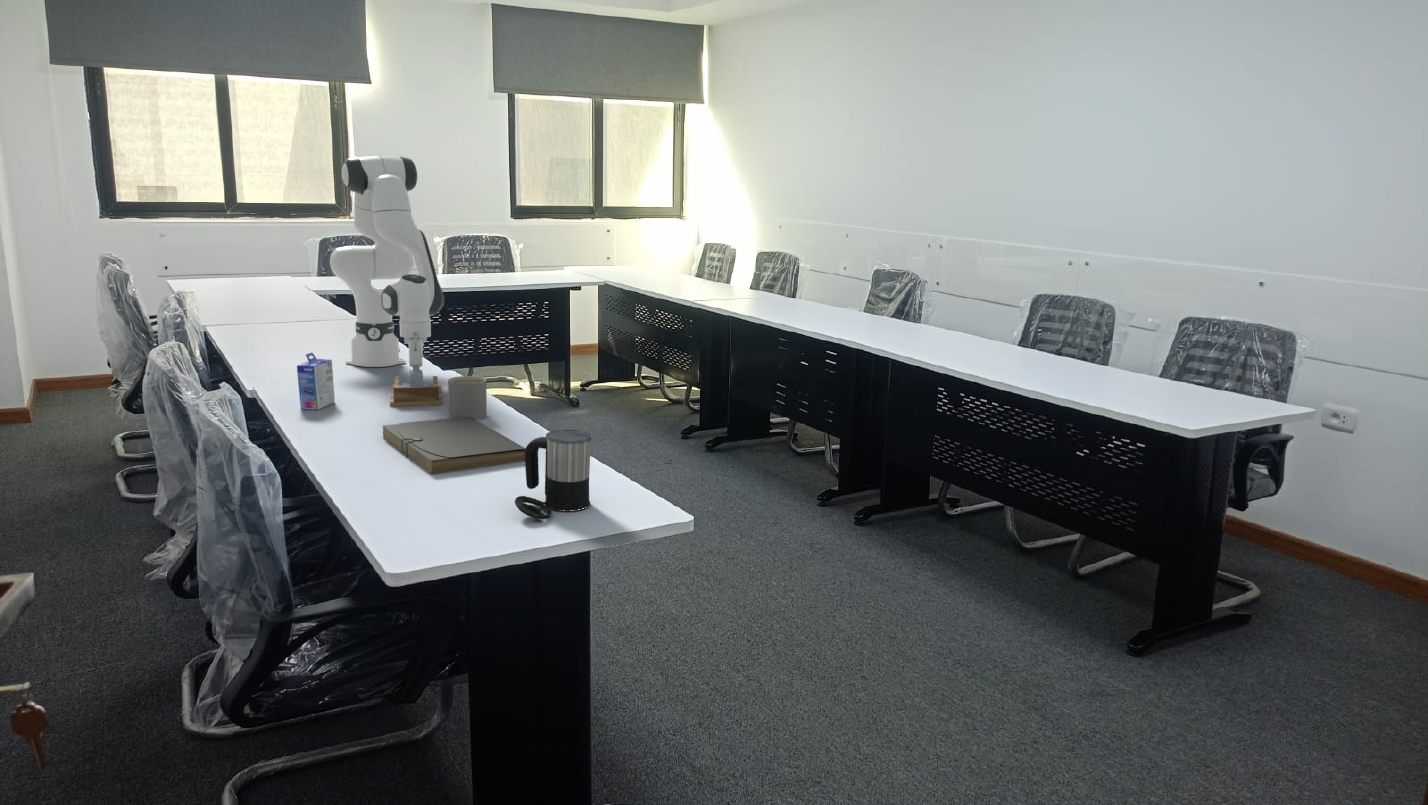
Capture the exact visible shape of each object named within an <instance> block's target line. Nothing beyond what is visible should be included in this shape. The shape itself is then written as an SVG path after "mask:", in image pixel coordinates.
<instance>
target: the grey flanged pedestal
mask: <svg viewBox="0 0 1428 805" xmlns="http://www.w3.org/2000/svg"><path fill="white" fill-rule="evenodd" d="M408 371H409V382H408V383H407V382H402V385H404V386H405V387H428V385H430V384H431V383H430V382H424V377H423V376H424V374H423V369H420V370H413V369H409V370H408Z"/></svg>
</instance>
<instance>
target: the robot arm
mask: <svg viewBox="0 0 1428 805" xmlns="http://www.w3.org/2000/svg"><path fill="white" fill-rule="evenodd" d="M418 176H419V175H418V170H417V166H416V164H415V162H414V161H413V160H412V159H411V158H409V157H403V156H399V157H397V156H390V155H389V156H388V155H378V156H375V155H374V156H361V157H359V156H352V157H348V158H346V159H345V160H344V162H343V164H342V169H341V178H342V181H343V184H344V187H345V188H346V189H348V190H349V191H350V192H353V193H354V196H353V197H354V198H353V209H354V210H353V212H354V213H353V215H354V216H353V217H354V218H353V219H354V220H353V222H354V223H353V224H354V228H355V230H356V231H357V232H358V233H359V234H360V235H361V236H363V237H366V238H368V239H371V240H372V241H373V242H374V244H373V245H372V244H371V245H346V246H340V247H336V248H334V250H333V251H332V252H331V254H330V258H329V266H330V269H331V271H332V273H333V274H334V275H335V276H336V277H337V278H339V280H341V281H342V282H344V283H345V284H346V286H347V287H348V288H349V290H350V292H351V293H352V296H353V298H354V304H355V312H356V321H355V325H354V328H355V333H356V334H355V335H354V336H353V337H352V338H351V339H350V340H351V341H350V344H351V346H350V347H351V349H350V351H351V352H350V353H351V357H349V358H348V359H346V360H345V364H346V365H353V366H358V367H367V368H382V367H384V368H385V367H392V366H396V365H403V364H406V359H405V358H404V357H403V356H402V355H401V354H400V351H401V350H400V346H399V345H400V344H399V343H400V342H399V340H400V339H399V338H398V337H397V336H396V335H395V333H394V332H395V325H394V324H395V323H394V321H393V316H395V317H396V316H397V317H398V316H399V337H400V338H404V339H403V340H404V342H405V343H407V344H408V345H407V346H408V357H409V358H408V360H409V361H408V362H409V366H410V367H411V368H412V370H421V369H420V368H421V367H423V350H424V343H426V342H427V338H430V337H431V336H432V333H431V332H432V331H431V330H432V324H431V322H432V321H431V320H432V319H431V316H436V315H437V314H438V313H439V312H440V311H441V310H442V308H443V307H444V305H445V295H444V292H443V289H442V287H441V284H440V282H439V279H438V276H437V272H436V269H435V265H434V262H433V261H434V260H433V258H432V254H431V251H430V247H429V244H428V241H427V238H426V236H425V233H424V232H423V230H420V229H419V228H418V227H417V225H416V224H415V221H414V220H413V217H412V210H411V209H412V208H411V204H410V198H409V194H408V192H410V191H412V190H413V189H415V188H416V186H417V182H418ZM414 262H415V263H414ZM415 264H416V270H417V272H418V274H411V273H412V272H413V270H414V265H415ZM373 280H374V281H375V280H399V281H397V282H395V283H391V284H388V285H387V286H385V288H384V289H383V291H382V290H380V289H378V288H375V287H374V286H372V281H373Z"/></svg>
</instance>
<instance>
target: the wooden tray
mask: <svg viewBox="0 0 1428 805" xmlns="http://www.w3.org/2000/svg"><path fill="white" fill-rule="evenodd" d="M432 383H433V384H431V383H430V385H428V387H405V386H404V385H403V384H400V376H394V383H393V384H391V390H390V399H389V407H419V406H420V407H424V406H432V407H433V406H443V404H444V402H443V393H442V384H440V383H439V381H438V375H432Z"/></svg>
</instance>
